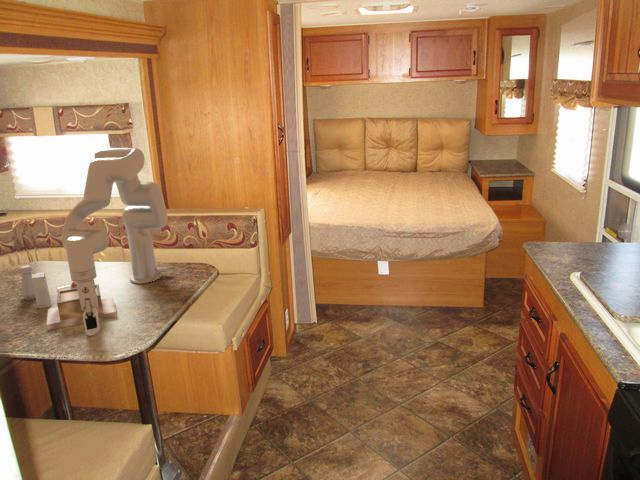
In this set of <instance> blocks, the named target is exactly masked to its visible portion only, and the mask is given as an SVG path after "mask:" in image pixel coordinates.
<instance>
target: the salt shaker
mask: <svg viewBox="0 0 640 480" xmlns="http://www.w3.org/2000/svg"><path fill="white" fill-rule="evenodd" d="M32 271H33V268H32V266H31V265H29V264H27V265H21V266H20V267H19V268H18V272H19V273H20V274H21V288H20V289H21V295H22V297H23V298H24V300H28V301H30V300H33V299H35V300H36V296H35V292H34V288H33V283H32V274H33V273H32Z"/></svg>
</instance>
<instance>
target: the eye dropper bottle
mask: <svg viewBox="0 0 640 480" xmlns="http://www.w3.org/2000/svg"><path fill="white" fill-rule="evenodd" d="M85 308H86V307H85ZM91 308H92V306H91ZM91 312H92V310H91ZM94 314H95V316H96V321H97V328H94V329H89V330H87V327H86V321H85V318H86V317H85V311H84V313H83V321H84V323H83V327H84V331H85V335H86V336H88V337H90V336H91V337H92V336H94V335H96V334H98V333H99V332H100V330H101V324H100V320H99V317H98V312H97V309H96V308H94Z"/></svg>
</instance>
